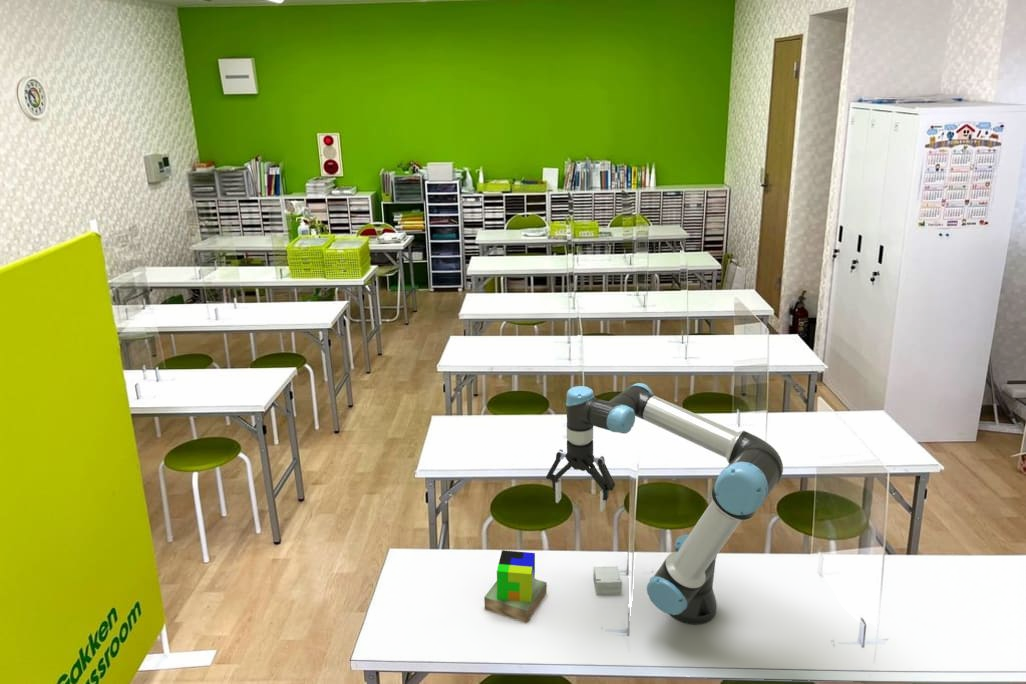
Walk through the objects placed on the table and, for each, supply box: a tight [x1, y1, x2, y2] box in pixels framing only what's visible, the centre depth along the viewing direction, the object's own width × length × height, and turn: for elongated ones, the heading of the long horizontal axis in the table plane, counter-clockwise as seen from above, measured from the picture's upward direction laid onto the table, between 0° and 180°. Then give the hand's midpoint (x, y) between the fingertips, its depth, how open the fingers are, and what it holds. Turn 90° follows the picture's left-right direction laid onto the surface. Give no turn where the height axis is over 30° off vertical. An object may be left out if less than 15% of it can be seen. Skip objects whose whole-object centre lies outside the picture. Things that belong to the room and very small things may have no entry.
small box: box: [592, 565, 623, 596], centre depth 236 cm, size 8×8×5 cm
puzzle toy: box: [496, 549, 536, 602], centre depth 228 cm, size 10×10×10 cm
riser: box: [483, 578, 548, 624], centre depth 230 cm, size 14×14×4 cm
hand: (580, 504), depth 225 cm, fingers open, 13 cm apart
